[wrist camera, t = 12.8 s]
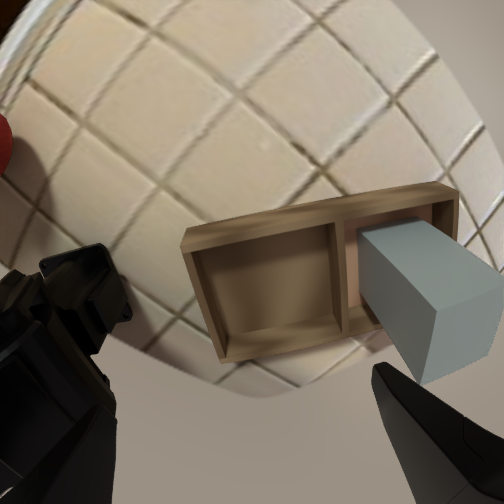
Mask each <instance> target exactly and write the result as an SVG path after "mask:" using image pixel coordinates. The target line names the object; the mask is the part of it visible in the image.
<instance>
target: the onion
mask: <svg viewBox="0 0 504 504" xmlns="http://www.w3.org/2000/svg"><path fill="white" fill-rule="evenodd" d="M12 146H13V139H12V132H11V128H10V126H9V124H8V122H7V119H6V118H5V117H4V116H3V115H1V114H0V176H1V175H2V174H3V172H4V171H5V169H6V167H7V165H8V162H9V159H10V157H11V154H12Z"/></svg>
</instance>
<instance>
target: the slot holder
mask: <svg viewBox="0 0 504 504" xmlns="http://www.w3.org/2000/svg"><path fill="white" fill-rule="evenodd" d="M414 216H418V217H419V218H421V219H422V220H424V221H426V222H427V223H429V224H430V225H432V226H433V227H435V228H437V229H438V230H440V231H441V232H443V233H444V234H446V235H447V236H449V237H450V238H452V239H453V240H455V241H456V242H457V233H458V217H459V191H458V190H456V189H453V188H451V187H449V186H446V185H444V184H441V183H439V182H436V181H433V182H426V183H419V184H413V185H406V186H400V187H394V188H388V189H382V190H376V191H370V192H364V193H358V194H353V195H347V196H342V197H336V198H331V199H325V200H320V201H315V202H309V203H304V204H299V205H294V206H289V207H284V208H279V209H274V210H269V211H264V212H259V213H254V214H249V215H245V216H240V217H235V218H231V219H226V220H221V221H217V222H212V223H208V224H203V225H199V226H194V227H190V228H187V229H186V232H185V234H184V237H183V239H182V242H181V244H180V248H181V251H182V254H183V258H184V261H185V264H186V267H187V270H188V273H189V276H190V279H191V282H192V285H193V288H194V291H195V294H196V297H197V300H198V303H199V306H200V309H201V311H202V314H203V317H204V320H205V323H206V326H207V328H208V331H209V334H210V337H211V339H212V342H213V345H214V347H215V350H216V353H217V355H218V358H219V361H220V363H221V364H225V363H231V362H237V361H243V360H249V359H254V358H260V357H265V356H270V355H275V354H280V353H285V352H290V351H294V350H299V349H303V348H308V347H312V346H316V345H320V344H325V343H329V342H333V341H337V340H341V339H344V338H348V337H352V336H356V335H359V334H363V333H366V332H370V331H373V330H377V329H380V328H383V326H382V325H381V323H380V321H379V320H378V318H377V317H376V315H375V314H374V312H373V311H372V309H371V308H370V306H369V305H368V303H367V302H366V300H365V299H364V297H363V296H362V294H361V293H360V291H359V277H358V251H357V234H356V228H360V227H365V226H370V225H374V224H379V223H384V222H389V221H394V220H399V219H404V218H409V217H414Z"/></svg>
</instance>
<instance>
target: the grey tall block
mask: <svg viewBox="0 0 504 504" xmlns="http://www.w3.org/2000/svg"><path fill="white" fill-rule="evenodd" d="M356 234H357V251H358V277H359V291H360V293H361V294H362V296H363V297H364V299H365V300H366V302H367V303H368V305H369V306H370V308H371V309H372V311H373V312H374V314H375V315H376V317H377V318H378V320H379V321H380V323H381V325H382V326H383V328H384V329H385V331H386V332H387V334H388V336H389V337H390V339H391V340H392V342H393V344H394V345H395V347H396V348H397V350H398V352H399V353H400V355H401V356H402V358H403V360H404V361H405V363H406V364H407V366H408V368H409V370H410V371H411V373H412V375H413V376H414V378H415V380H416V381H417V383H418V384H419V385H420V386H422V385H425V384H427V383H430V382H432V381H434V380H436V379H439V378H441V377H443V376H446V375H448V374H450V373H453V372H455V371H457V370H459V369H461V368H463V367H465V366H467V365H469V364H471V363H473V362H475V361H477V360H479V359H481V358H483V357H485V356H487V355H488V353H489V351H490V348H491V345H492V342H493V340H494V337H495V334H496V331H497V328H498V325H499V321H500V318H501V315H502V312H503V308H504V276H503V275H501V274H500V273H499V272H497V271H496V270H495V269H494V268H492V267H491V266H490V265H488V264H487V263H486V262H484V261H483V260H481V259H480V258H479V257H477V256H476V255H475V254H473V253H472V252H470V251H469V250H468V249H466V248H465V247H463V246H462V245H460V244H459V243H458V242H456V241H455V240H453V239H452V238H450V237H449V236H447V235H446V234H444V233H443V232H441V231H440V230H438V229H437V228H435V227H433V226H432V225H430V224H429V223H427V222H426V221H424V220H422V219H421V218H419V217H418V216H414V217H409V218H404V219H399V220H394V221H389V222H384V223H379V224H374V225H370V226H365V227H360V228H356Z"/></svg>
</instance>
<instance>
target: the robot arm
mask: <svg viewBox="0 0 504 504" xmlns="http://www.w3.org/2000/svg"><path fill="white" fill-rule="evenodd" d="M97 249H100V251H101V253H99V252H98V251H97ZM44 264H45V265H46V266H45V265H44ZM39 267H40V269H41V272H42V274H43V276H44V279H43V277H42V275H41V273H40V272H38V273H35V274H33V275H29V276H26V275H25V274H22V273H20V272H19V271H17V270H16V269H14V270H12V271H10V272H9V273H8V274H7V275H5V276H4V277H3V278H2V279H1V280H0V497H1V496H2V494H4V493H5V492H6V491H7V490H8V489H10V488H11V487H13V488H12V489H11V490H10V491H8V492H7V493H6V494H5V495H4V496H2V497H1V498H0V504H112V492H113V481H114V471H115V461H116V429H117V419H116V418H115V414H116V400H115V396H114V393H113V392H112V391H111V390H110V381H109V379H108V378H107V376H106V375H105V374H103V373H102V372H101V371H100V369H99V368H98V367H97V365H96V364H95V363H94V361H93V360H92V359H91V357H90V355H93V354H98V353H99V351H100V349H101V346H102V344H103V342H104V340H105V338H106V336H107V334H110V333H111V332H112V330H113V328H114V326H115V324H116V323H119V322H126V321H130V320H131V319H132V316H133V312H132V310H131V308H130V306H129V303H128V301H127V300H128V297H127V295H126V293H125V291H124V288H123V286H122V284H121V281H120V279H119V276H118V274H117V271H116V270H115V269H114V268H113V266H112V263H111V261H110V258H109V256H108V253H107V250H106V248H105V246H104V245H103V244H101V243H97V244H93V245H89V246H86V247H82V248H78V249H75V250H71V251H68V252H64V253H61V254H57V255H54V256H50V257H47V258H44V259H42V260H41V261H40V262H39ZM124 313H126V314H128V316H126V315H125V314H124ZM371 384H372V388H373V392H374V395H375V398H376V401H377V405H378V408H379V411H380V415H381V418H382V421H383V424H384V427H385V430H386V432H387V434H388V436H389V439H390V441H391V443H392V446H393V448H394V450H395V453H396V455H397V457H398V460H399V462H400V464H401V467H402V469H403V471H404V474H405V476H406V479H407V481H408V484H409V486H410V489H411V491H412V494H413V496H414V499H415V501H416V504H504V439H503V438H501V437H499V436H497V435H495V434H493V433H491V432H489V431H487V430H486V429H484V428H482V427H481V426H479V425H478V424H476V423H474V422H473V421H471V420H470V419H468V418H467V417H464V416H463V415H462V414H461V413H459V412H458V411H456V410H455V409H454V408H452V407H451V406H449V405H448V404H446V403H445V402H443V401H442V400H440V399H439V398H438V397H436V396H435V395H433V394H432V393H430V392H429V391H427V390H426V389H424V388H423V387H422V386H420V385H419V384H417V383H416V382H415V381H413V380H412V379H410V378H409V377H407V376H406V375H404V374H403V373H402V372H400V371H399V370H397V369H396V368H394V367H393V366H392V365H390V364H389V363H387V362H381V363H378V364H375V365H374V366H373V370H372V380H371Z"/></svg>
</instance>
